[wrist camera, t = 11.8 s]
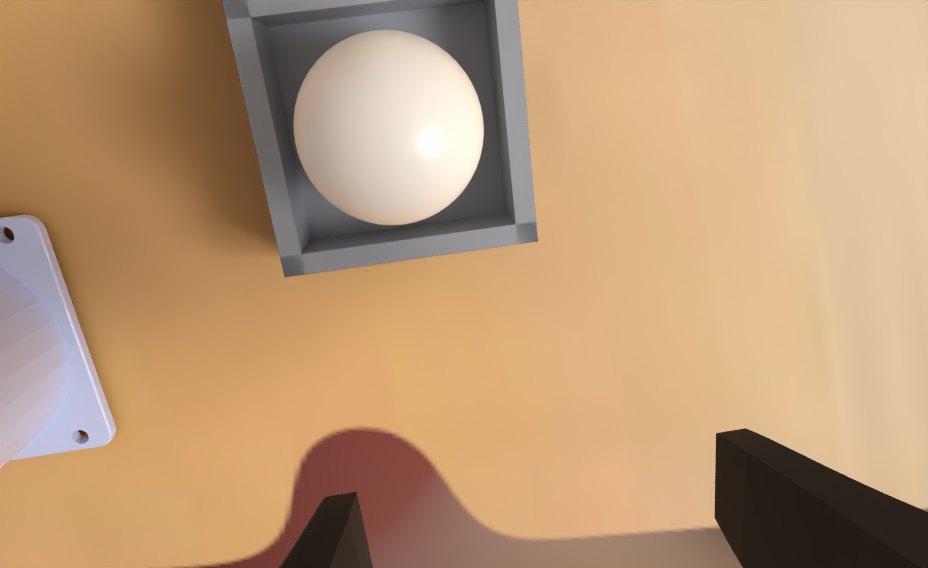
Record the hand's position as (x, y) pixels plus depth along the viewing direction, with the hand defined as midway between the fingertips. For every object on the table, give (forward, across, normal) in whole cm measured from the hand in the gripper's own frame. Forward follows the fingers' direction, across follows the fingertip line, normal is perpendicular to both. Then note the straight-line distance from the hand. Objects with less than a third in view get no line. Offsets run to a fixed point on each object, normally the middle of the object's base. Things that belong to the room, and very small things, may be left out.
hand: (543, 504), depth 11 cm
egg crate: (+9, +2, -14) cm, 17 cm away
